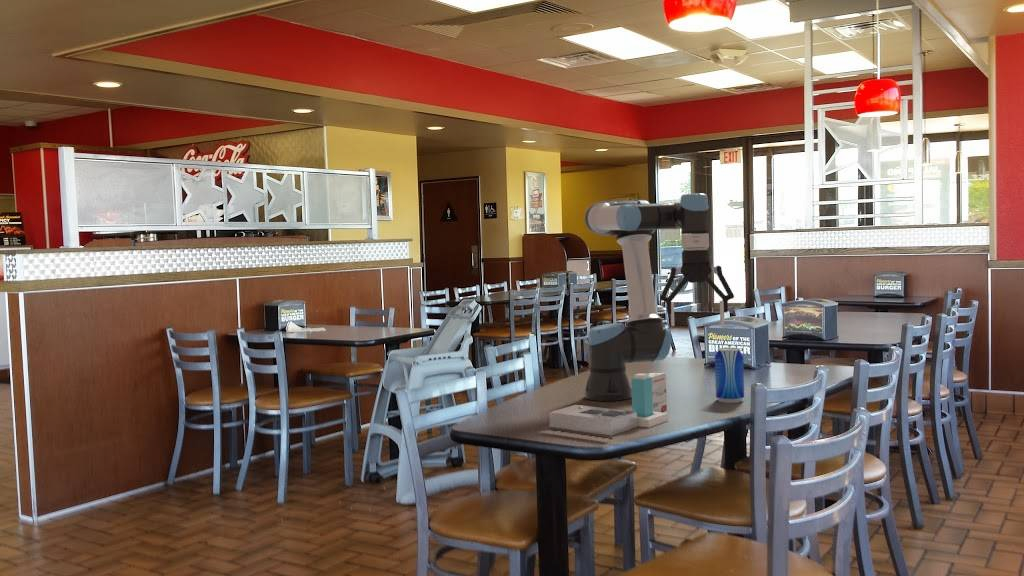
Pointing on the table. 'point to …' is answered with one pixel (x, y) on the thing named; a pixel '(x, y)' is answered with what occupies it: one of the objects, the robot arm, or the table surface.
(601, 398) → the robot arm
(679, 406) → the table surface
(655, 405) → the ink box
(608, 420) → the port panel
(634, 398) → the plug
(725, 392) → the beer can
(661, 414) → the holster
